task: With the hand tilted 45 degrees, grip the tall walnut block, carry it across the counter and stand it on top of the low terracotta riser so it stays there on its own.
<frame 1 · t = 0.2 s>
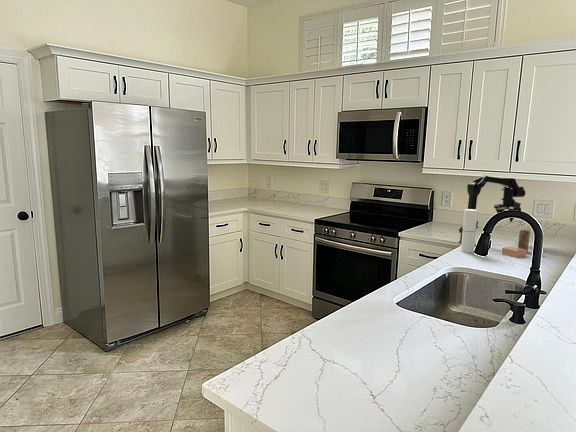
hand: (506, 220, 267), 15 cm above the worktop, tool pointing down, fingers open, 9 cm apart
walnut block: (522, 251, 242), on the worktop
terracotta riser: (513, 255, 234), on the worktop
cylindrical container: (467, 251, 240), on the worktop
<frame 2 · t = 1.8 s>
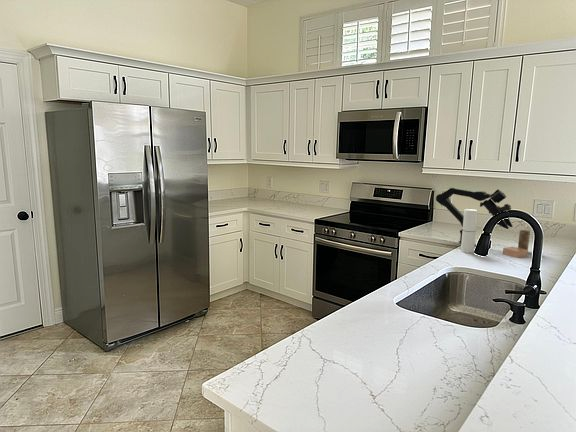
hand: (510, 227, 246), 14 cm above the worktop, tool tilted 45°, fingers open, 9 cm apart
nothing on the worktop moved.
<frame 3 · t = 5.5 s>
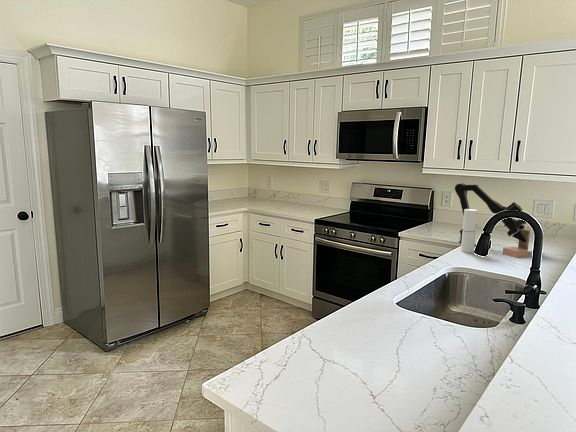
hand: (526, 241, 241), 7 cm above the worktop, tool tilted 45°, fingers closed on walnut block, 4 cm apart
walnut block: (522, 251, 242), on the worktop, touching gripper
everything else where it was.
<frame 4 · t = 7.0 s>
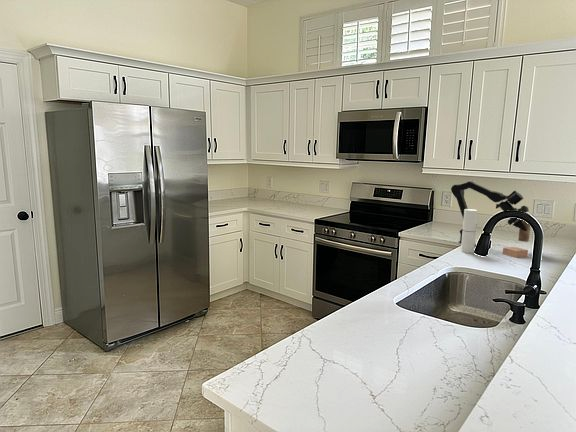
hand: (527, 230, 239), 13 cm above the worktop, tool tilted 45°, fingers closed on walnut block, 4 cm apart
walnut block: (523, 240, 241), point 7 cm above the worktop, touching gripper
everything else where it was.
when the fingers open (12 cm above the worktop, at t = 8.5 s): walnut block drops 2 cm, resting on terracotta riser.
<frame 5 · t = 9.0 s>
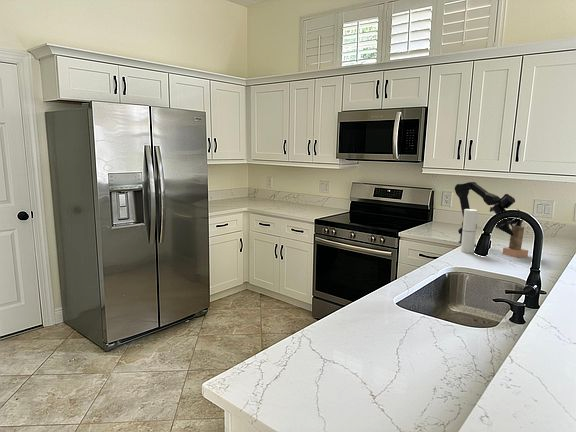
hand: (517, 234, 231), 12 cm above the worktop, tool tilted 45°, fingers open, 9 cm apart
walnut block: (514, 248, 233), point 4 cm above the worktop, touching terracotta riser
terracotta riser: (514, 255, 234), on the worktop, touching walnut block
everything else where it was.
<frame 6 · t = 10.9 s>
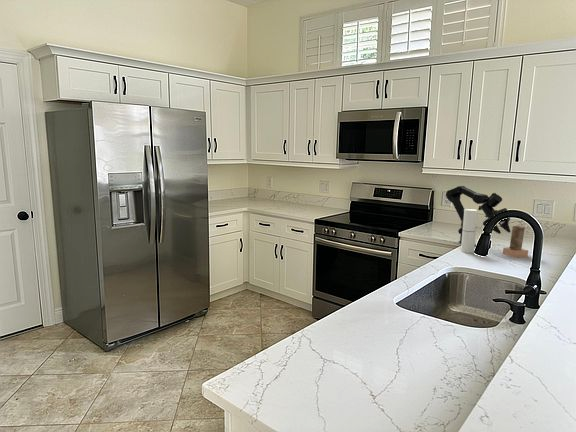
hand: (505, 232, 238), 12 cm above the worktop, tool tilted 45°, fingers open, 9 cm apart
walnut block: (515, 248, 233), point 4 cm above the worktop
terracotta riser: (514, 255, 234), on the worktop
everything else where it was.
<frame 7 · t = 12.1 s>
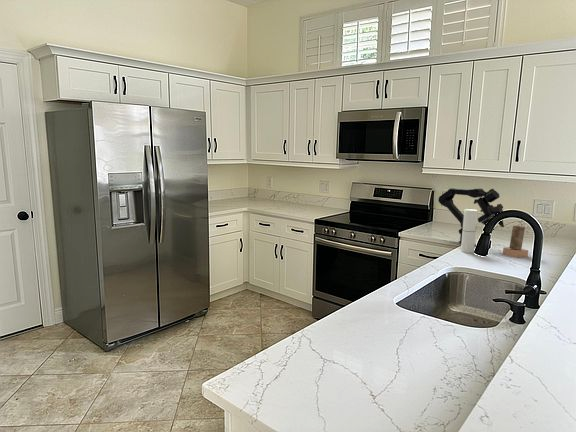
hand: (498, 228, 246), 13 cm above the worktop, tool tilted 35°, fingers open, 9 cm apart
nothing on the worktop moved.
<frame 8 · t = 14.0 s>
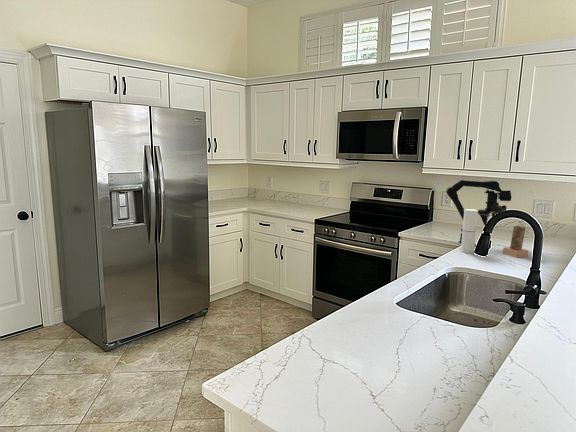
hand: (489, 224, 259), 13 cm above the worktop, tool pointing down, fingers open, 9 cm apart
nothing on the worktop moved.
at the end: walnut block 0.4 cm off-centre on the terracotta riser, point 4.1 cm above the terracotta riser's base; walnut block tilted 2°; the gripper is holding nothing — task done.
